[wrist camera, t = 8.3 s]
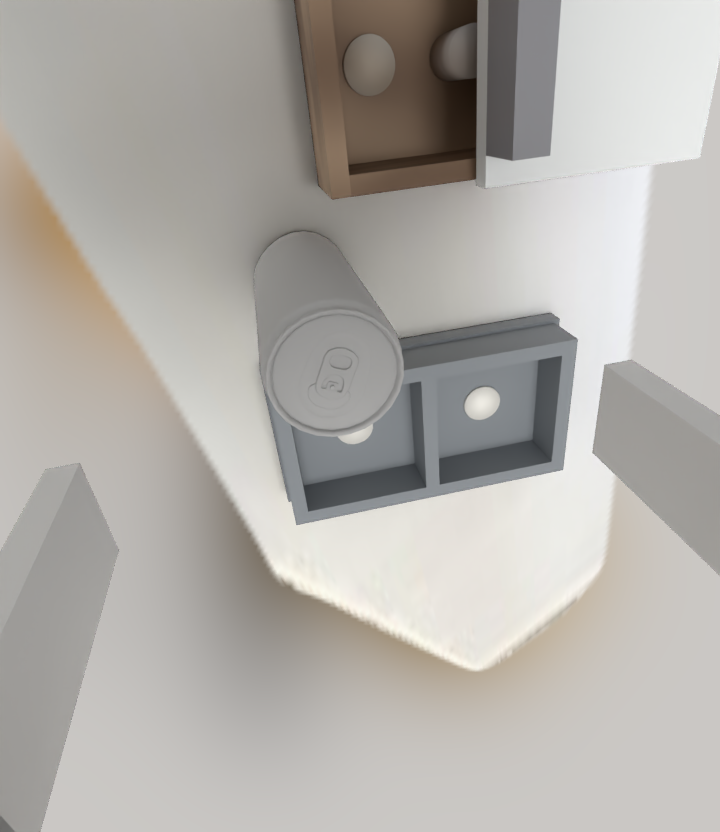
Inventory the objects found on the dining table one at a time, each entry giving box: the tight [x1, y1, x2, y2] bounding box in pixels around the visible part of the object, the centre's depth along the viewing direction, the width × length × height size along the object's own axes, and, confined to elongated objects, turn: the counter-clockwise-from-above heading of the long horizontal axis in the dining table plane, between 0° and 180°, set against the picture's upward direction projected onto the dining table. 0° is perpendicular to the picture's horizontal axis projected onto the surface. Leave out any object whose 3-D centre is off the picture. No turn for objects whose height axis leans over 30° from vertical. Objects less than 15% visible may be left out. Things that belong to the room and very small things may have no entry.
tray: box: [294, 0, 478, 199], centre depth 22 cm, size 9×9×4 cm
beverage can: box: [254, 231, 404, 437], centre depth 23 cm, size 5×5×12 cm
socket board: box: [259, 313, 578, 525], centre depth 31 cm, size 9×17×4 cm, turn 96°
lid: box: [476, 0, 720, 189], centre depth 19 cm, size 9×9×3 cm
